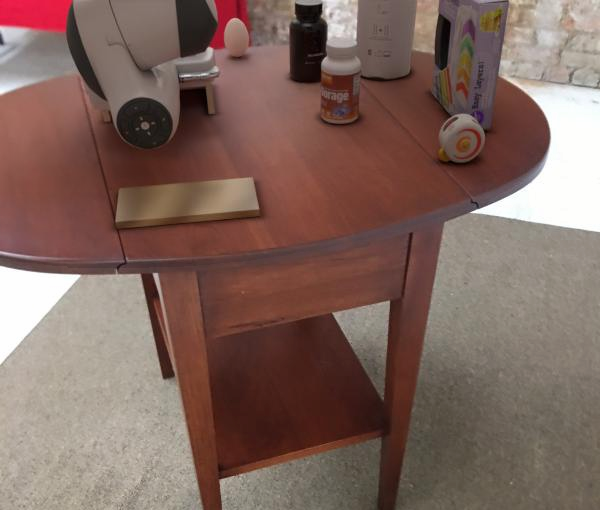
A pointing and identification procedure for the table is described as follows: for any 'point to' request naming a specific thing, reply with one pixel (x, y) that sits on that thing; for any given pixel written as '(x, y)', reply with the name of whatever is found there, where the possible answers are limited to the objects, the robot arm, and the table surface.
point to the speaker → (385, 37)
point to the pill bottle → (340, 81)
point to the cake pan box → (469, 56)
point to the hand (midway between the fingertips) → (150, 52)
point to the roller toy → (460, 139)
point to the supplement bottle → (307, 41)
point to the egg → (236, 37)
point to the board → (186, 202)
